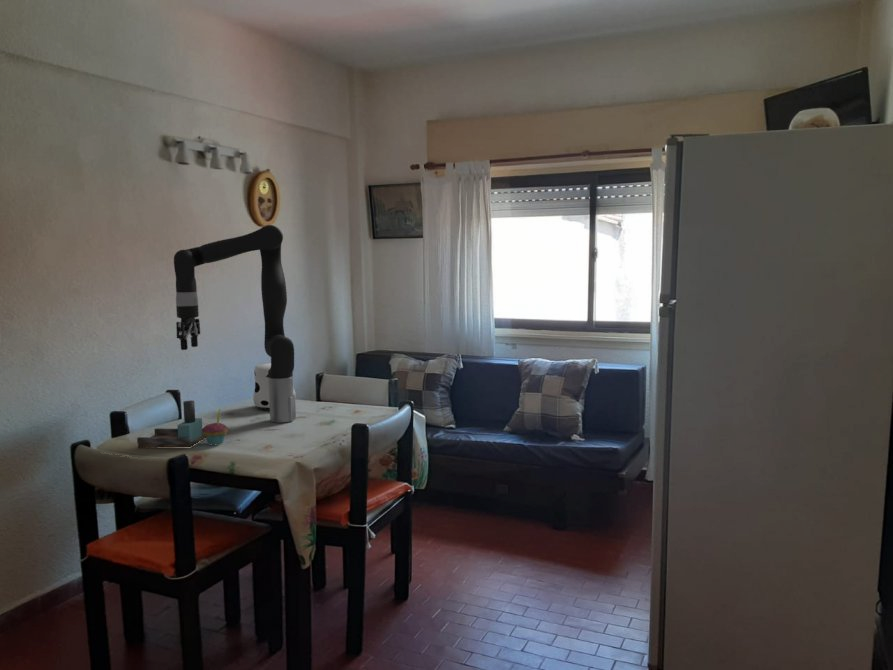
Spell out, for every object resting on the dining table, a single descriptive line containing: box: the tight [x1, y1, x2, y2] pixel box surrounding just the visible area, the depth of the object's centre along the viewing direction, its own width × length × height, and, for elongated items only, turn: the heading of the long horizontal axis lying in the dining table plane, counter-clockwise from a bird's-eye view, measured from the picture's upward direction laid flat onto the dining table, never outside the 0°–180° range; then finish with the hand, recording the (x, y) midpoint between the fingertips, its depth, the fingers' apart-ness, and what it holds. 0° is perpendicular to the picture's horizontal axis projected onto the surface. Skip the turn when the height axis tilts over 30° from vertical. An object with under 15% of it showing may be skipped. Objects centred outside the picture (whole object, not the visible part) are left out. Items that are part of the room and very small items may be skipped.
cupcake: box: [202, 408, 229, 446], centre depth 225 cm, size 9×8×12 cm
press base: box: [136, 427, 206, 449], centre depth 226 cm, size 18×13×4 cm
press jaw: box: [177, 400, 203, 442], centre depth 225 cm, size 4×10×13 cm, turn 177°
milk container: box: [252, 362, 297, 411], centre depth 279 cm, size 17×17×18 cm
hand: (189, 348), depth 244 cm, fingers open, 8 cm apart
